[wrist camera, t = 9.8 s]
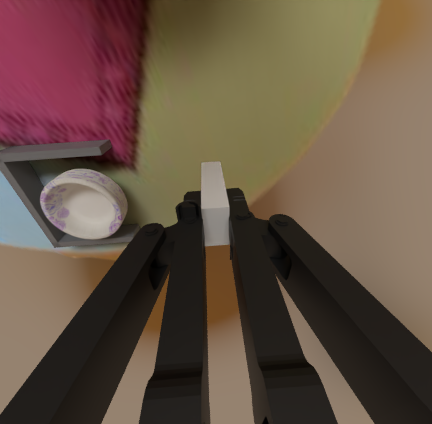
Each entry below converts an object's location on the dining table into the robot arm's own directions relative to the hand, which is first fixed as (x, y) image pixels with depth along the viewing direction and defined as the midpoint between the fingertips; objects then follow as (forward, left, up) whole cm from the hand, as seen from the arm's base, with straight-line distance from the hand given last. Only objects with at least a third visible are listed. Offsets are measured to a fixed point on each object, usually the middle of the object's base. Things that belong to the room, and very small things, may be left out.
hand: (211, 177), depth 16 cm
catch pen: (+14, -29, -28) cm, 42 cm away
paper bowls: (+14, -27, -28) cm, 41 cm away
